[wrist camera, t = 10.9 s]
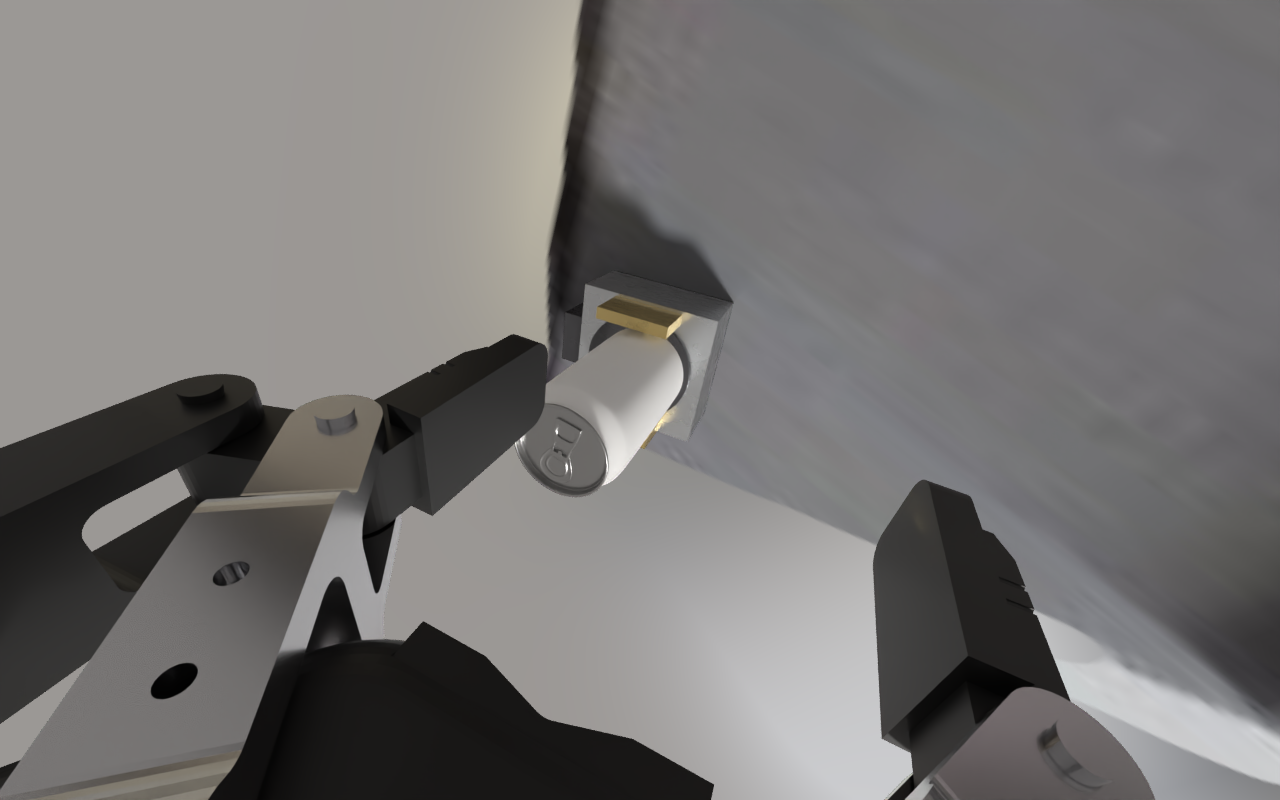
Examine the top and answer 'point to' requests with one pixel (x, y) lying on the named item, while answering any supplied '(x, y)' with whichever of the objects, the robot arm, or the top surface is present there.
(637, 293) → the motor housing
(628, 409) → the can
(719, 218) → the top surface
